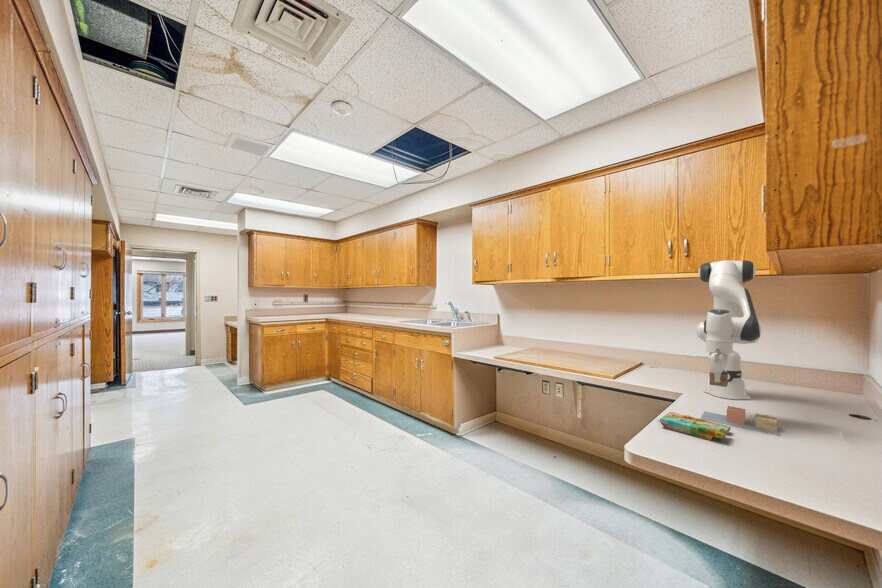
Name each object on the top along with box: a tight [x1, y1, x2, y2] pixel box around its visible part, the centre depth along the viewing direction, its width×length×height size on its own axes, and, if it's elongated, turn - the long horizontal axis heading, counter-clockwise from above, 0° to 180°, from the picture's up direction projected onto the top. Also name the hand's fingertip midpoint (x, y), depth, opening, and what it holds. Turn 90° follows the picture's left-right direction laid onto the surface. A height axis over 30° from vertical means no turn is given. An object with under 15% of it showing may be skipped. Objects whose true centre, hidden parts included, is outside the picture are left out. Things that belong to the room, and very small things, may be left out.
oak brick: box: [755, 413, 778, 432], centre depth 133 cm, size 6×6×4 cm
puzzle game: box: [659, 411, 731, 441], centre depth 132 cm, size 12×5×20 cm
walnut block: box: [708, 371, 728, 387], centre depth 144 cm, size 6×6×5 cm
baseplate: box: [699, 411, 782, 437], centre depth 138 cm, size 13×24×1 cm, turn 46°
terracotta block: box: [726, 405, 746, 425], centre depth 140 cm, size 6×6×5 cm
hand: (718, 380), depth 144 cm, fingers closed on walnut block, 5 cm apart
